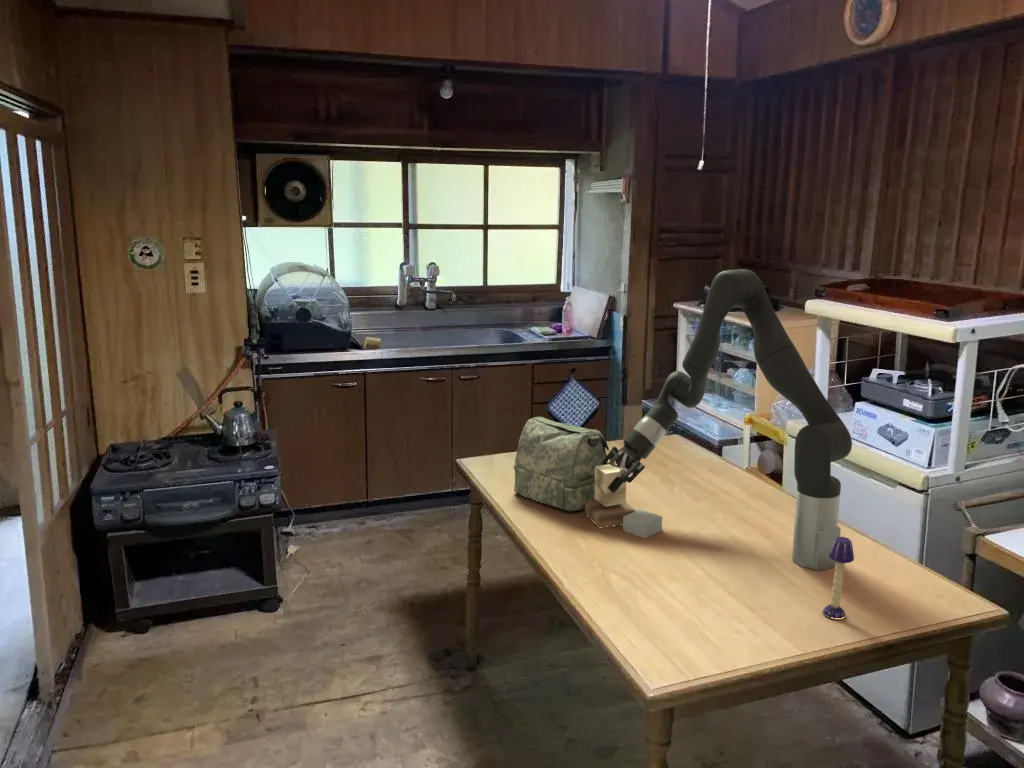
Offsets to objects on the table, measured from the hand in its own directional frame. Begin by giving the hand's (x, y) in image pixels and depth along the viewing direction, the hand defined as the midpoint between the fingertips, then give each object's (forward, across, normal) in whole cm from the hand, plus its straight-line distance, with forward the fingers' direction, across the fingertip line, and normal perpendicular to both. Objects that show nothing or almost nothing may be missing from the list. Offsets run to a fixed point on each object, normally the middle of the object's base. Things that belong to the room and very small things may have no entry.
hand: (604, 486), depth 209 cm
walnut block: (+6, 0, +8) cm, 10 cm away
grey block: (+3, +10, +11) cm, 15 cm away
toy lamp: (-7, +62, +20) cm, 66 cm away
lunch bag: (+9, -19, +4) cm, 22 cm away
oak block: (+2, 0, +4) cm, 5 cm away
